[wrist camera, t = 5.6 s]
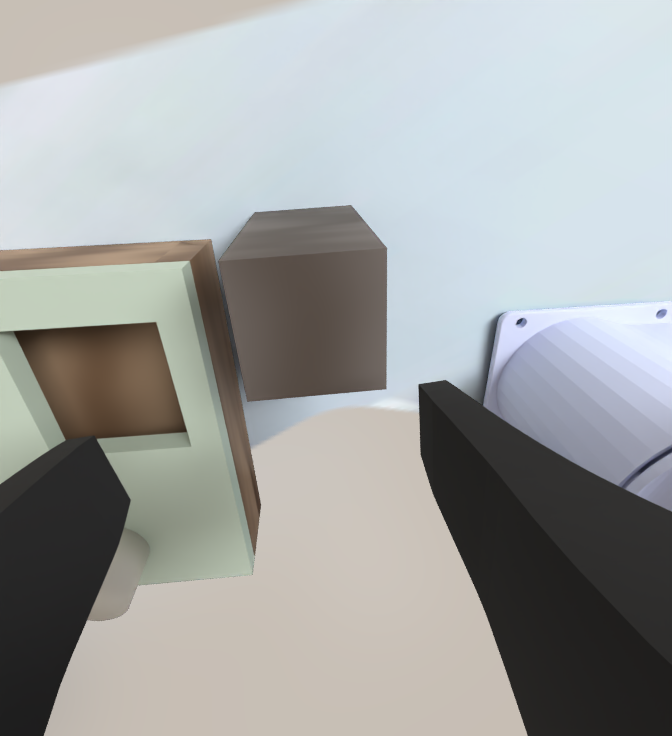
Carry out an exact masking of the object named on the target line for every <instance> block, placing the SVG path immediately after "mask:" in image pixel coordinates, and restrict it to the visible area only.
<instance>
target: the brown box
mask: <svg viewBox="0 0 672 736" xmlns="http://www.w3.org/2000/svg"><path fill="white" fill-rule="evenodd" d="M177 261H190V265H191V269H192V274H193V278H194V283H195V288H196V292H197V297H198V301H199V306H200V310H201V315H202V319H203V324H204V329H205V333H206V338H207V342H208V347H209V351H210V356H211V361H212V365H213V370H214V374H215V379H216V383H217V388H218V392H219V397H220V402H221V406H222V411H223V415H224V420H225V424H226V429H227V433H228V438H229V443H230V447H231V452H232V456H233V461H234V465H235V470H236V475H237V479H238V484H239V488H240V493H241V497H242V502H243V506H244V511H245V516H246V520H247V525H248V529H249V534H250V538H251V543H252V547H253V552H254V556H255V551H256V542H257V534H258V525H259V517H260V509H261V503H260V498H259V492H258V487H257V481H256V476H255V471H254V465H253V460H252V455H251V449H250V444H249V439H248V433H247V428H246V423H245V417H244V412H243V407H242V401H241V396H240V391H239V385H238V380H237V375H236V369H235V364H234V359H233V353H232V348H231V343H230V337H229V332H228V327H227V321H226V316H225V311H224V305H223V300H222V295H221V289H220V284H219V279H218V273H217V268H216V263H215V257H214V252H213V247H212V241H211V239H209V240H190V241H171V242H152V243H133V244H114V245H95V246H76V247H57V248H38V249H19V250H0V271H14V270H32V269H50V268H68V267H86V266H104V265H123V264H141V263H159V262H177ZM13 332H14V334H15V336H16V338H17V340H18V342H19V344H20V346H21V348H22V350H23V353H24V355H25V357H26V359H27V361H28V363H29V365H30V367H31V369H32V371H33V373H34V375H35V378H36V380H37V382H38V384H39V386H40V388H41V390H42V392H43V394H44V396H45V398H46V400H47V402H48V405H49V407H50V409H51V411H52V413H53V415H54V417H55V419H56V421H57V423H58V425H59V427H60V430H61V432H62V434H63V436H64V438H65V440H68V439H74V438H81V437H87V436H93V435H94V436H95V437H96V439H102V438H116V437H129V436H142V435H156V434H169V433H183V432H187V429H186V425H185V422H184V418H183V415H182V411H181V408H180V404H179V401H178V397H177V393H176V390H175V386H174V383H173V379H172V376H171V372H170V369H169V365H168V362H167V358H166V355H165V351H164V347H163V344H162V340H161V337H160V333H159V330H158V326H157V323H156V322H147V323H131V324H115V325H99V326H82V327H66V328H50V329H34V330H18V331H13Z"/></svg>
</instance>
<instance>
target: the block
mask: <svg viewBox="0 0 672 736" xmlns="http://www.w3.org/2000/svg"><path fill="white" fill-rule="evenodd" d="M218 262H219V267H220V271H221V276H222V281H223V286H224V291H225V296H226V300H227V305H228V310H229V315H230V320H231V325H232V329H233V334H234V339H235V344H236V349H237V354H238V359H239V363H240V368H241V373H242V378H243V383H244V388H245V392H246V397H247V402H249V401H260V400H271V399H282V398H293V397H305V396H316V395H327V394H338V393H349V392H360V391H371V390H382V389H386V346H387V248H386V246H385V245H384V244H383V243H382V242H381V240H380V239H379V238H378V237H377V236H376V234H375V233H374V232H373V231H372V230H371V228H370V227H369V226H368V225H367V224H366V222H365V221H364V220H363V219H362V218H361V216H360V215H359V214H358V213H357V212H356V210H355V209H354V208H353V207H352V206H351V205H348V206H335V207H321V208H308V209H294V210H281V211H267V212H255V213H254V214H253V216H252V217H251V218H250V220H249V221H248V222H247V224H246V225H245V226H244V228H243V229H242V230H241V232H240V233H239V234H238V236H237V237H236V238H235V240H234V241H233V242H232V244H231V245H230V246H229V248H228V249H227V250H226V252H225V253H224V254H223V256H222V257H221V258H220V260H219V261H218Z"/></svg>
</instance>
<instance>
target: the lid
mask: <svg viewBox="0 0 672 736" xmlns="http://www.w3.org/2000/svg"><path fill="white" fill-rule="evenodd" d="M147 322H156V323H157V326H158V330H159V333H160V337H161V340H162V344H163V347H164V351H165V355H166V358H167V362H168V365H169V369H170V372H171V376H172V379H173V383H174V386H175V390H176V393H177V397H178V401H179V404H180V408H181V411H182V415H183V418H184V422H185V425H186V429H187V432H183V433H169V434H156V435H142V436H129V437H116V438H102V439H97V441H98V443H99V444H100V446H101V448H102V450H103V451H104V453H105V455H106V457H107V459H108V460H109V462H110V464H111V466H112V467H113V469H114V471H115V473H116V474H117V476H118V478H119V480H120V482H121V483H122V485H123V487H124V489H125V490H126V492H127V494H128V496H129V497H130V499H131V502H130V506H129V510H128V514H127V518H126V522H125V526H124V529H123V533H122V536H121V539H120V543H119V546H118V548H117V551H116V553H115V556H114V558H113V560H112V563H111V565H110V568H109V570H108V572H107V575H106V577H105V580H104V582H103V584H102V587H101V589H100V591H99V594H98V596H97V598H96V601H95V603H94V605H93V607H92V610H91V612H90V614H89V617H88V619H87V620H92V621H104V620H110V619H114V618H117V617H119V616H121V615H123V614H124V613H125V612H126V611H127V610H128V609H129V606H130V604H131V601H132V598H133V595H134V593H135V590H136V588H137V585H148V584H159V583H169V582H181V581H190V580H191V581H192V580H201V579H213V578H225V577H235V576H246V575H253V567H254V559H255V557H254V552H253V547H252V543H251V538H250V534H249V529H248V525H247V520H246V516H245V511H244V506H243V502H242V497H241V493H240V488H239V484H238V479H237V475H236V470H235V465H234V461H233V456H232V452H231V447H230V443H229V438H228V433H227V429H226V424H225V420H224V415H223V411H222V406H221V402H220V397H219V392H218V388H217V383H216V379H215V374H214V370H213V365H212V361H211V356H210V351H209V347H208V342H207V338H206V333H205V329H204V324H203V319H202V315H201V310H200V306H199V301H198V297H197V292H196V288H195V283H194V278H193V274H192V269H191V265H190V261H177V262H159V263H141V264H123V265H104V266H86V267H68V268H50V269H32V270H14V271H0V484H1V483H2V482H4V481H5V480H7V479H8V478H10V477H11V476H12V475H14V474H15V473H17V472H18V471H19V470H21V469H22V468H24V467H25V466H27V465H28V464H29V463H31V462H32V461H34V460H35V459H37V458H38V457H40V456H41V455H43V454H44V453H46V452H47V451H49V450H50V449H52V448H54V447H55V446H57V445H59V444H60V443H62V442H64V441H66V440H65V438H64V436H63V434H62V432H61V430H60V427H59V425H58V423H57V421H56V419H55V417H54V415H53V413H52V411H51V409H50V407H49V405H48V402H47V400H46V398H45V396H44V394H43V392H42V390H41V388H40V386H39V384H38V382H37V380H36V378H35V375H34V373H33V371H32V369H31V367H30V365H29V363H28V361H27V359H26V357H25V355H24V353H23V350H22V348H21V346H20V344H19V342H18V340H17V338H16V336H15V334H14V332H13V331H18V330H34V329H50V328H66V327H82V326H99V325H115V324H131V323H147Z"/></svg>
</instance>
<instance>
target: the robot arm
mask: <svg viewBox="0 0 672 736" xmlns="http://www.w3.org/2000/svg"><path fill="white" fill-rule="evenodd" d="M659 310H660V312H659V313H658V314H657V312H658V311H659ZM656 314H657V315H656ZM520 318H523V320H522V322H521V323H520V324H518V325H516V322H517V320H519V319H520ZM419 415H420V448H421V457H422V460H423V463H424V467H425V470H426V473H427V476H428V479H429V483H430V486H431V489H432V492H433V495H434V497H435V499H436V502H437V504H438V506H439V509H440V511H441V513H442V515H443V517H444V520H445V522H446V524H447V526H448V529H449V531H450V533H451V535H452V537H453V540H454V542H455V544H456V546H457V549H458V551H459V553H460V555H461V557H462V560H463V562H464V564H465V566H466V569H467V571H468V573H469V575H470V577H471V580H472V582H473V584H474V586H475V588H476V591H477V593H478V595H479V598H480V600H481V603H482V605H483V608H484V610H485V613H486V615H487V618H488V621H489V623H490V626H491V629H492V632H493V635H494V637H495V641H496V644H497V646H498V649H499V652H500V655H501V658H502V661H503V663H504V666H505V669H506V672H507V675H508V678H509V681H510V684H511V687H512V690H513V693H514V696H515V699H516V701H517V705H518V708H519V711H520V714H521V717H522V719H523V723H524V726H525V729H526V731H527V735H528V736H672V301H663V302H647V303H632V304H616V305H600V306H584V307H568V308H552V309H536V310H520V311H508V312H505V313H504V314H502V315H501V316H500V318H499V320H498V324H497V330H496V335H495V341H494V347H493V352H492V358H491V363H490V369H489V375H488V380H487V386H486V392H485V397H484V403H483V406H482V405H481V404H480V403H478V402H477V401H475V400H474V399H472V398H471V397H470V396H468V395H467V394H465V393H464V392H462V391H461V390H460V389H458V388H457V387H455V386H454V385H452V384H451V383H449V382H448V381H446V380H443V381H437V382H431V383H424V384H419ZM130 502H131V499H130V497H129V496H128V494H127V492H126V490H125V489H124V487H123V485H122V483H121V482H120V480H119V478H118V476H117V474H116V473H115V471H114V469H113V467H112V466H111V464H110V462H109V460H108V459H107V457H106V455H105V453H104V451H103V450H102V448H101V446H100V444H99V443H98V441H97V439H96V437H95V436H94V435H93V436H87V437H81V438H74V439H68V440H66V441H64V442H62V443H60V444H59V445H57V446H55V447H54V448H52V449H50V450H49V451H47V452H46V453H44V454H43V455H41V456H40V457H38V458H37V459H35V460H34V461H32V462H31V463H29V464H28V465H27V466H25V467H24V468H22V469H21V470H19V471H18V472H17V473H15V474H14V475H12V476H11V477H10V478H8V479H7V480H5V481H4V482H2V483H1V484H0V736H44V733H45V730H46V727H47V724H48V721H49V718H50V715H51V711H52V709H53V705H54V703H55V699H56V696H57V693H58V690H59V687H60V684H61V682H62V679H63V677H64V674H65V672H66V669H67V666H68V664H69V661H70V659H71V656H72V654H73V651H74V649H75V647H76V644H77V642H78V640H79V637H80V635H81V633H82V630H83V628H84V626H85V624H86V621H87V619H88V617H89V614H90V612H91V610H92V607H93V605H94V603H95V601H96V598H97V596H98V594H99V591H100V589H101V587H102V584H103V582H104V580H105V577H106V575H107V572H108V570H109V568H110V565H111V563H112V560H113V558H114V556H115V553H116V551H117V548H118V546H119V543H120V539H121V536H122V533H123V529H124V526H125V522H126V518H127V514H128V510H129V506H130Z"/></svg>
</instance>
